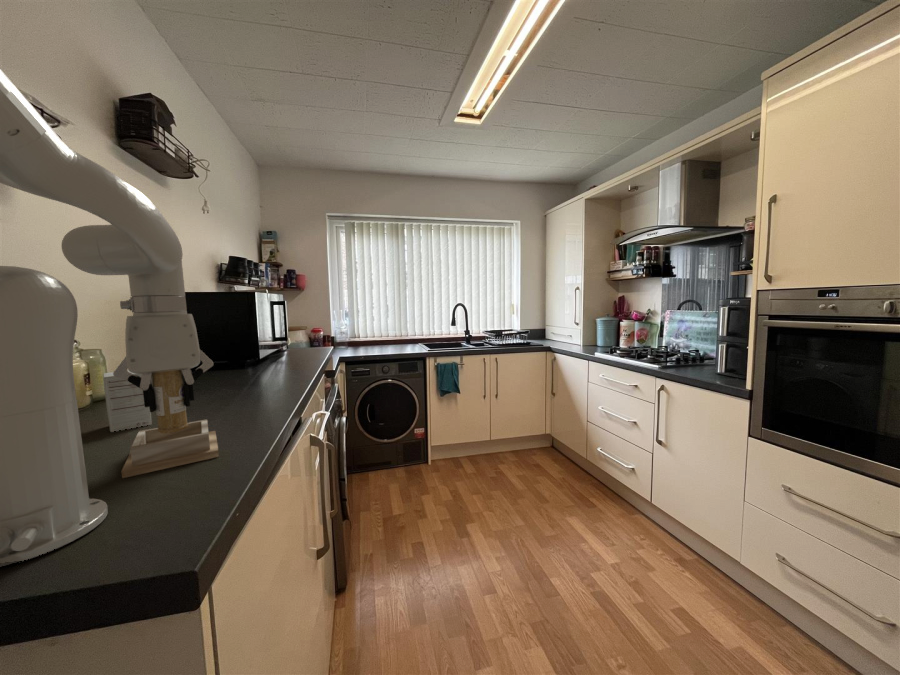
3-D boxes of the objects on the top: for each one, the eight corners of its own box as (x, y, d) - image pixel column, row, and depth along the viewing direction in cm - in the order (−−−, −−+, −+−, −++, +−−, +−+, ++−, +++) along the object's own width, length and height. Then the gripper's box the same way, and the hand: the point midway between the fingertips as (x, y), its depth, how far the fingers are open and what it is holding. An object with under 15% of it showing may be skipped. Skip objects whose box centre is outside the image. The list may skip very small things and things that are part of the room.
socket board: (218, 456, 65) (216, 433, 64) (122, 478, 57) (119, 452, 57) (215, 436, 75) (214, 416, 75) (133, 452, 68) (131, 430, 68)
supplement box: (109, 425, 85) (103, 372, 84) (150, 418, 90) (144, 368, 89) (108, 433, 79) (102, 376, 78) (152, 425, 84) (146, 371, 83)
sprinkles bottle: (188, 430, 65) (180, 357, 64) (155, 436, 63) (147, 359, 62) (189, 423, 69) (182, 354, 68) (159, 428, 67) (150, 357, 65)
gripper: (89, 308, 56) (103, 422, 58) (217, 305, 66) (226, 403, 67) (99, 308, 62) (112, 412, 64) (215, 305, 72) (224, 395, 74)
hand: (170, 406), depth 66 cm, fingers closed on sprinkles bottle, 4 cm apart
